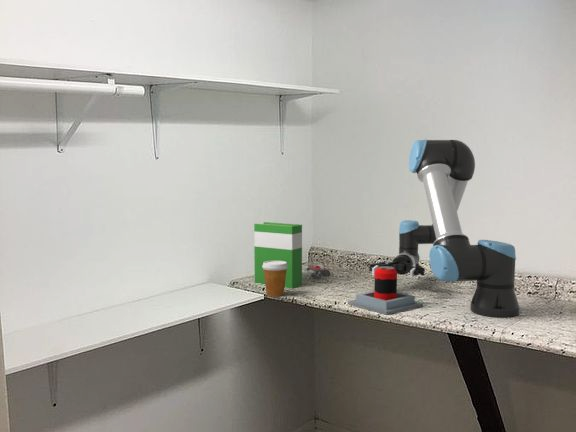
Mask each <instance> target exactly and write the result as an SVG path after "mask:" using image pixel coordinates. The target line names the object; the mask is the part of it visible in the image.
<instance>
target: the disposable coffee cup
mask: <svg viewBox="0 0 576 432" xmlns="http://www.w3.org/2000/svg"><path fill="white" fill-rule="evenodd" d="M262 267H263V270H264V278H265V285H264V286H265V293H266V296H268V297H275V298H277V297H283V296H284V294H285V279H286V271H287V267H288V265H287V262H285V261H266V262H263V266H262Z"/></svg>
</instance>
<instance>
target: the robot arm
mask: <svg viewBox="0 0 576 432" xmlns="http://www.w3.org/2000/svg"><path fill="white" fill-rule="evenodd" d="M409 152H410V153H409V156H408V157H409V158H408V160H409V161H408V168H409V172H411V173H412V174H416V175H417V179H418V180H419V181H420V182H421V183H423V186H424V190H425V195H426V199H427V204H428V208H429V212H430V217H431V222H432V224H430V225H429V224H426V225H423V224H422V225H420V222H419V221H418V220H409V219H408V220H406V219H405V220H402V221H400V223H399V229H398V230H399V231H398V234H399V235H398V238H399V239H398V240H399V242H398V245H399V247H398V255H397V256H395V257H394V258H393V260H392V261H389V262H387V261H386V260H385V261H381V262H377V263H376V262H375V263H370V264H369V269H368V270H369V272H371V276H372V277H375V270H376V269H377V268H378V267H380V266H390V267H394V268H395V270H396V271H397V275H400V276H401V275H403V276H404V275H407V274H409V279H413V278H414V277H415V276H419V275H420V276H425V267H424V266H421V265H420V263H419V262H420V254H419V245H432V247H431V248H430V250H429V254H428V255H429V256H428V257H429V266H430V270H431V271H432V274H433V275H434V277H435V278H436V279H437V280H439V281H441V282H450V283H455V282H471V281H472V282H475V281H476V287H475V291H474V293H473V296H472V299H471V302H470V311H471V312H472V313H474V314H477V315H481V316H487V317H493V318H494V317H495V318H510V317H516V316H518V315H520V305H519V302H518V298H517V295H516V292H515V276H516V260H517V257H516V248H515V246H514V245H513V244H510V243H507V242H503V241H497V240H490V239H489V240H488V239H478V241H477V244H471V243H470V239H469V237H468V235H466V234H464V233H463V231H462V227H461V223H460V219H459V215H458V210H459V207H460V205H461V201H462V198H463V195H464V193H465V190H466V188H467V185H468V182H469V181H470V180H472V178H473V176H474V173H475V171H476V170H475V169H476V160H475V156H474V154H473V151H472V149H471V148H470V147H469V145H467V144H466V143H464V142H463V141H461V140H458V139H426V138H425V139H420V140H419V139H418V140H416V141H414V142H413V143H412V144H411V148H410V151H409Z"/></svg>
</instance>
